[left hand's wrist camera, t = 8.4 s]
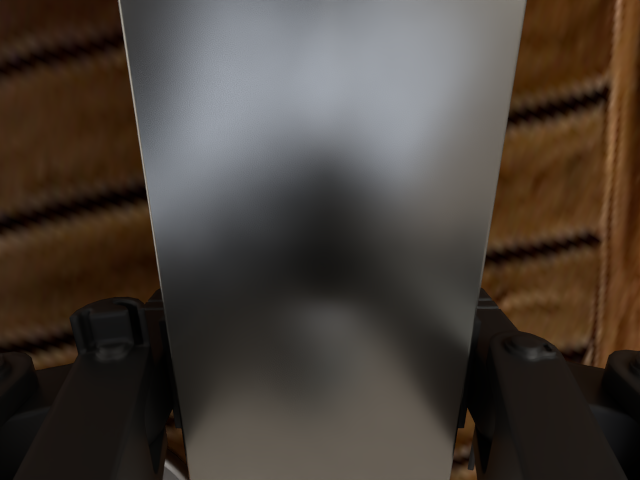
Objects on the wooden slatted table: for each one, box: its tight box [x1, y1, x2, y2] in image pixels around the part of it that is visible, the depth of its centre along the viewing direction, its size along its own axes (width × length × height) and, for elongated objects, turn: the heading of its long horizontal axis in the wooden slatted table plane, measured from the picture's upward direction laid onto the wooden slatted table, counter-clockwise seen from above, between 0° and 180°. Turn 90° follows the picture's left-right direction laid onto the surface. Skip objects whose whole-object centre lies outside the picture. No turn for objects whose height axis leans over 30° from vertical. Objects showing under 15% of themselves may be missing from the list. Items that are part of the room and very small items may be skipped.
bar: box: [118, 0, 527, 480], centre depth 8 cm, size 21×5×8 cm, turn 0°
